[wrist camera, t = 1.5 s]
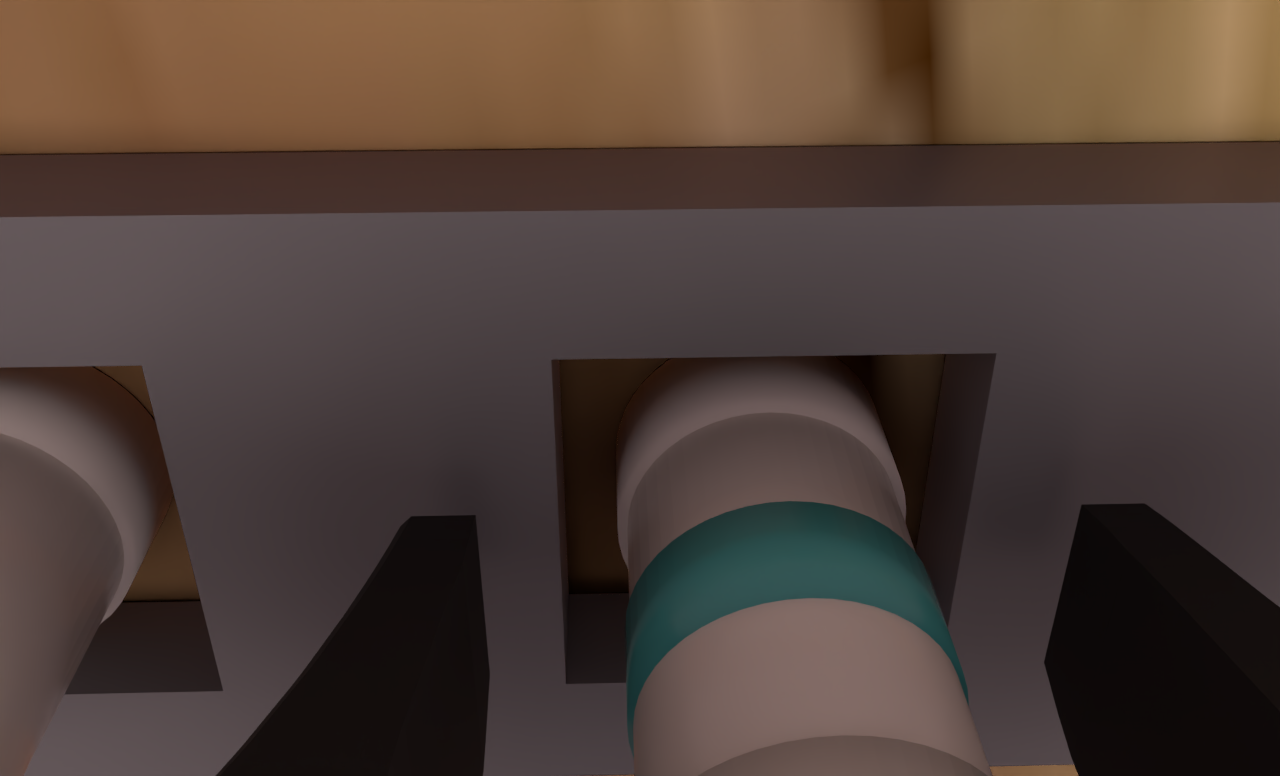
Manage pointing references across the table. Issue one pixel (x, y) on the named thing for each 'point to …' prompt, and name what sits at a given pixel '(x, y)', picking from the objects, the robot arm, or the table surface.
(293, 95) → the table surface
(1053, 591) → the holder
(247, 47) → the table surface
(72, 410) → the cylinder
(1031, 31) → the table surface
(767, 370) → the marked cartridge
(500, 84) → the table surface
